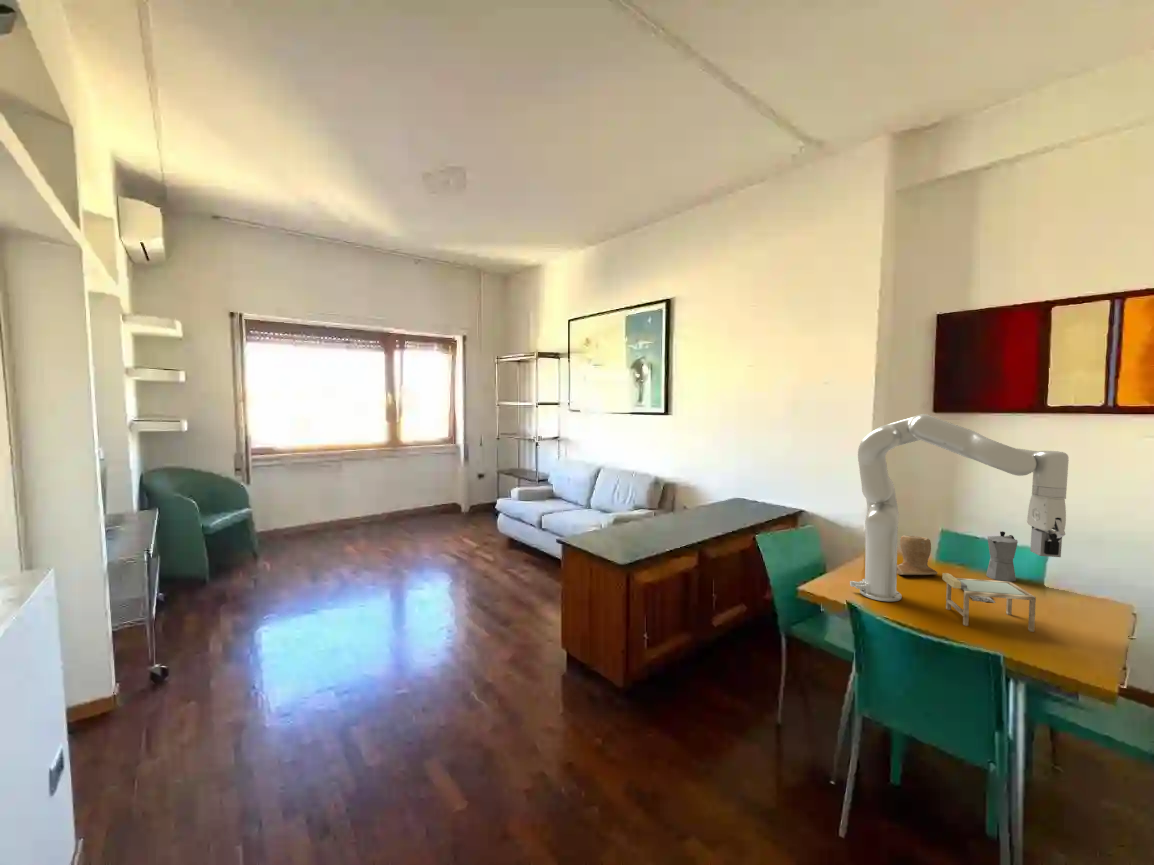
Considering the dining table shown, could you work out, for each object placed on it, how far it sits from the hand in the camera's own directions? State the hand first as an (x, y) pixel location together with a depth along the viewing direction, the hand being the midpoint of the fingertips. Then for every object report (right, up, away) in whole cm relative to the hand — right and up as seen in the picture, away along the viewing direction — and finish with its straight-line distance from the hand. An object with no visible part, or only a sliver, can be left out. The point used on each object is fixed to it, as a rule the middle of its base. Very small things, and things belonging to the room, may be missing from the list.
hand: (1045, 550), depth 151 cm
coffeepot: (+22, -20, +41) cm, 51 cm away
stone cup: (-8, -20, +47) cm, 52 cm away
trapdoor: (-15, -13, +5) cm, 21 cm away
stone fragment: (0, -22, +30) cm, 37 cm away
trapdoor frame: (-13, -23, +5) cm, 27 cm away
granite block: (0, -1, 0) cm, 1 cm away
